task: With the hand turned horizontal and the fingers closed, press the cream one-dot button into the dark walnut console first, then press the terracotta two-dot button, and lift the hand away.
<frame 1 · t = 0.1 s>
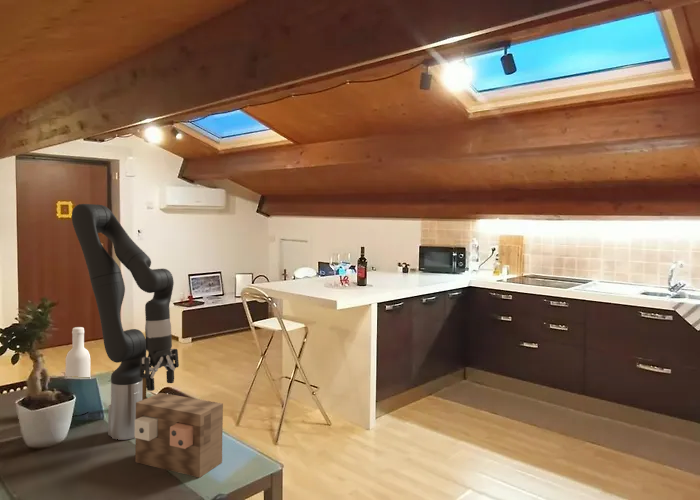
hand: (160, 386, 164), 17 cm above the table, tool pointing down, fingers open, 8 cm apart
one dot button: (148, 427, 148), point 11 cm above the table, slide at 0.0 cm
console: (178, 462, 151), on the table
two dot button: (183, 434, 143), point 11 cm above the table, slide at 0.0 cm
bottle: (77, 412, 189), on the table
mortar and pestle: (140, 407, 196), on the table
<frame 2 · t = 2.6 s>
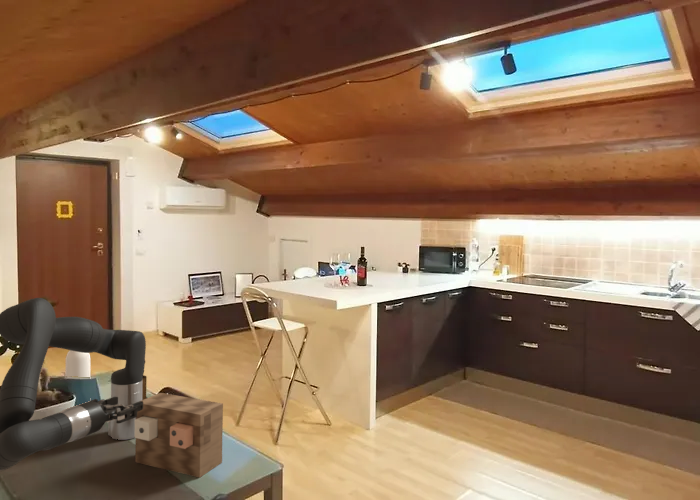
hand: (129, 402, 141), 20 cm above the table, tool horizontal, fingers open, 8 cm apart
nothing on the table moved.
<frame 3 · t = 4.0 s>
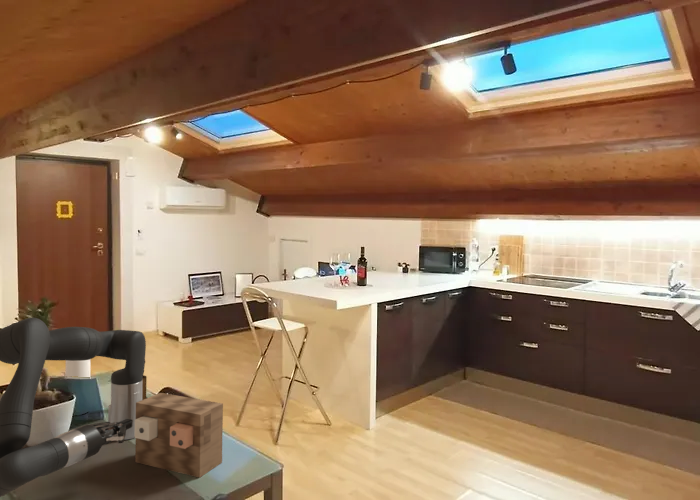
hand: (130, 422, 141), 15 cm above the table, tool horizontal, fingers closed
nothing on the table moved.
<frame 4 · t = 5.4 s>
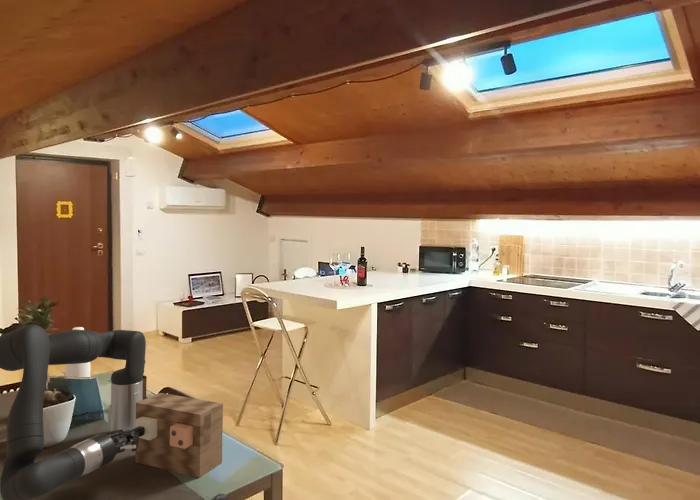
hand: (142, 430, 146), 11 cm above the table, tool horizontal, fingers closed
one dot button: (149, 426, 148), point 11 cm above the table, slide at 0.4 cm, touching gripper
everything else where it was.
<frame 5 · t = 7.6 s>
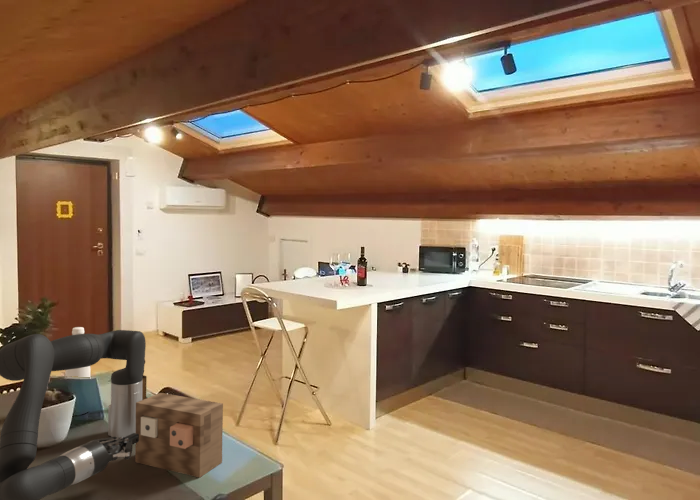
hand: (136, 437, 141), 11 cm above the table, tool horizontal, fingers closed
one dot button: (154, 424, 150), point 11 cm above the table, slide at 2.3 cm
everything else where it was.
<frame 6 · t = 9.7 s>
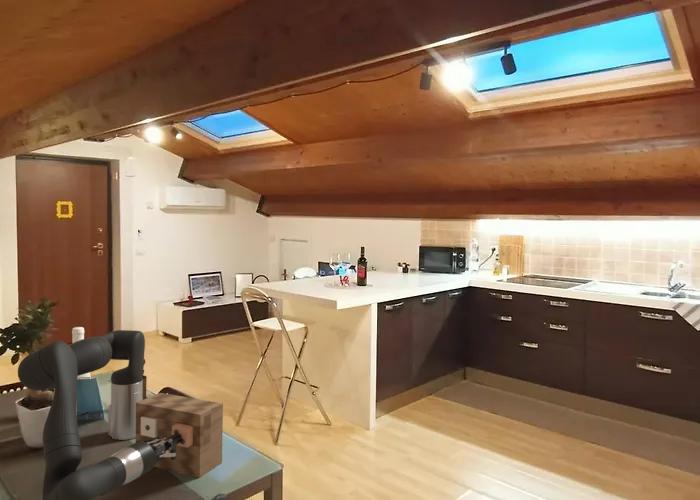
hand: (178, 437, 142), 11 cm above the table, tool horizontal, fingers closed
two dot button: (185, 433, 144), point 11 cm above the table, slide at 0.8 cm, touching gripper
everything else where it was.
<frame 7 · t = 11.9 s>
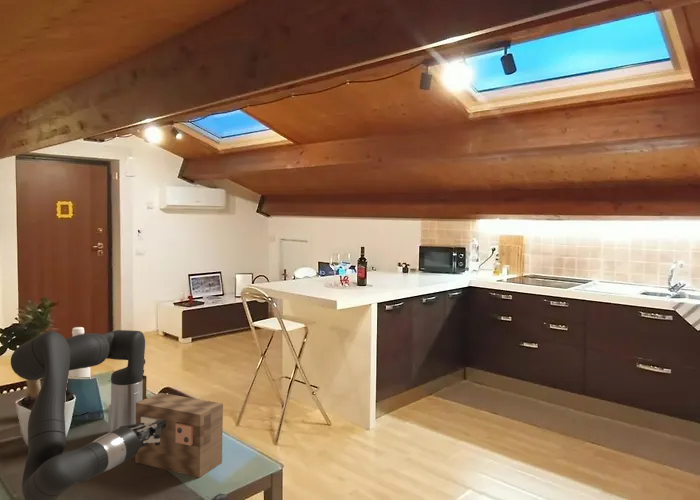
hand: (163, 423, 139), 15 cm above the table, tool horizontal, fingers closed
two dot button: (188, 431, 145), point 11 cm above the table, slide at 2.2 cm
everything else where it was.
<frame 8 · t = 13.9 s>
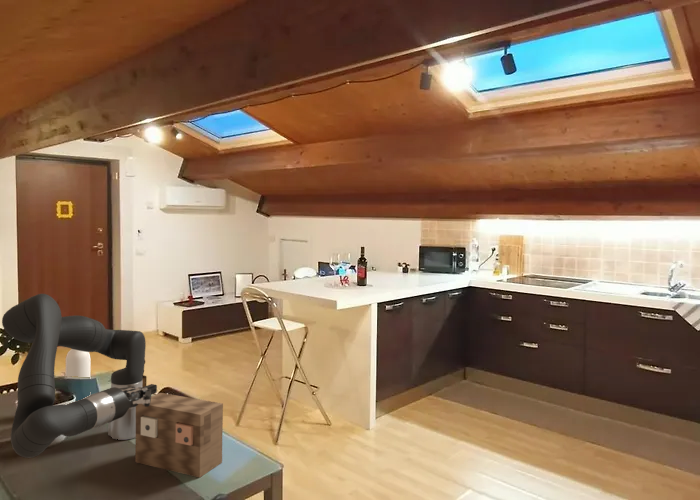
hand: (154, 388, 141), 24 cm above the table, tool horizontal, fingers closed
nothing on the table moved.
at the end: one dot button slide at 2.3 cm; two dot button slide at 2.2 cm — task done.
